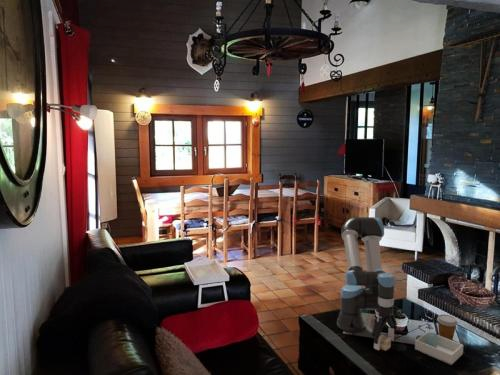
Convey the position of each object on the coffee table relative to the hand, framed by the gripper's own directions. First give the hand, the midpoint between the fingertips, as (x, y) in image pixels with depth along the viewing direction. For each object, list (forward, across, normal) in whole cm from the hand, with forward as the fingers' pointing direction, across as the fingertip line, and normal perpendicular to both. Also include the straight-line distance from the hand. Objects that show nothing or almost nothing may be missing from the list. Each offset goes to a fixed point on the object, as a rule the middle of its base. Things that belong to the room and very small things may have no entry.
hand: (383, 344), depth 197 cm
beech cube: (+2, 0, 0) cm, 2 cm away
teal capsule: (+1, +17, -16) cm, 24 cm away
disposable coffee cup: (+2, +31, -18) cm, 36 cm away
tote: (+2, +17, -20) cm, 26 cm away
